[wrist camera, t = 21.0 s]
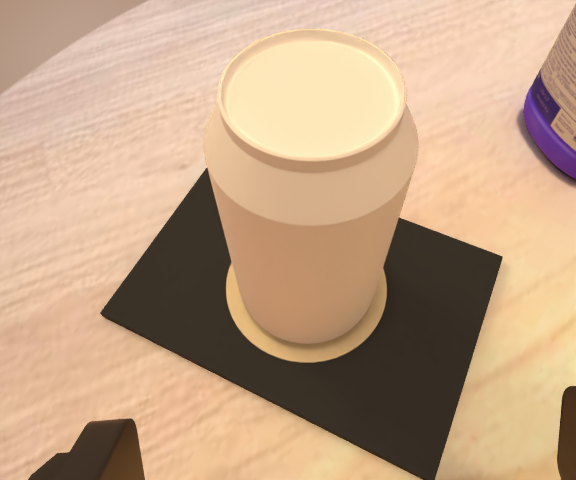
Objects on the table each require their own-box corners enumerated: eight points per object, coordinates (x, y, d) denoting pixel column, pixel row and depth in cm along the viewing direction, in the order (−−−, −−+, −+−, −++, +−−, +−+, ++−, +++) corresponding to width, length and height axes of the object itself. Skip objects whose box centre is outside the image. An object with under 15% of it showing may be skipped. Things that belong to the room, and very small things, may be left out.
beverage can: (221, 260, 24) (160, 52, 13) (333, 213, 25) (356, -10, 15) (273, 374, 21) (247, 221, 10) (398, 315, 22) (485, 126, 12)
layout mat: (102, 316, 23) (98, 312, 22) (220, 154, 28) (219, 148, 27) (431, 483, 19) (434, 482, 18) (500, 260, 24) (503, 255, 23)
